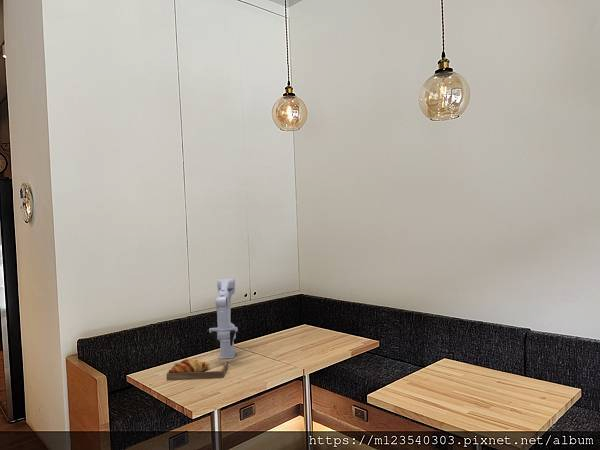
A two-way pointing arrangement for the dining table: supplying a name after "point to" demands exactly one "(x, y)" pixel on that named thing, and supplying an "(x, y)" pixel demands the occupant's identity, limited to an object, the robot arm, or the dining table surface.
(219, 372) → the frame
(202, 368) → the croissant
